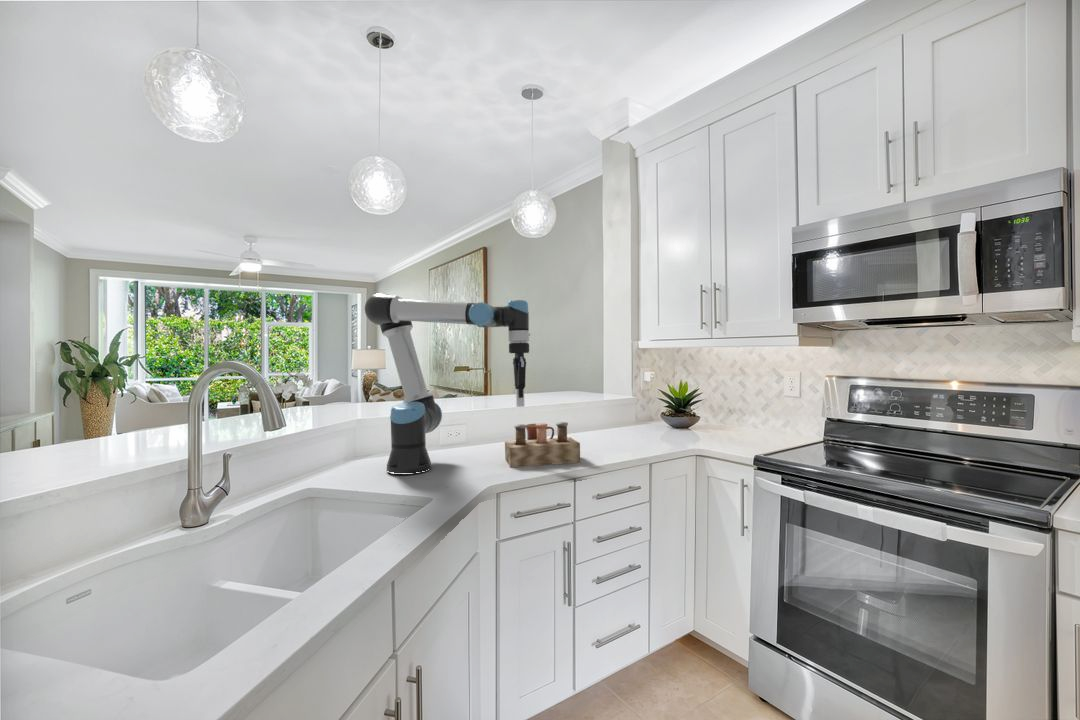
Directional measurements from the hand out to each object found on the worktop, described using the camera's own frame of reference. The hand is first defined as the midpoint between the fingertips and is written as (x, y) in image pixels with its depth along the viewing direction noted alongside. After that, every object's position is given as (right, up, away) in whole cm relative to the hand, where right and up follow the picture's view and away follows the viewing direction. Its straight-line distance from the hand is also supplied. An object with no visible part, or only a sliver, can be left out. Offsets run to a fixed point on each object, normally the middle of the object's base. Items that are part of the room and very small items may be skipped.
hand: (520, 406), depth 173 cm
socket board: (+8, -21, +2) cm, 22 cm away
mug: (+7, -21, +23) cm, 31 cm away
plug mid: (+8, -16, +2) cm, 18 cm away
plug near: (0, -16, 0) cm, 16 cm away
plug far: (+16, -16, +4) cm, 22 cm away
